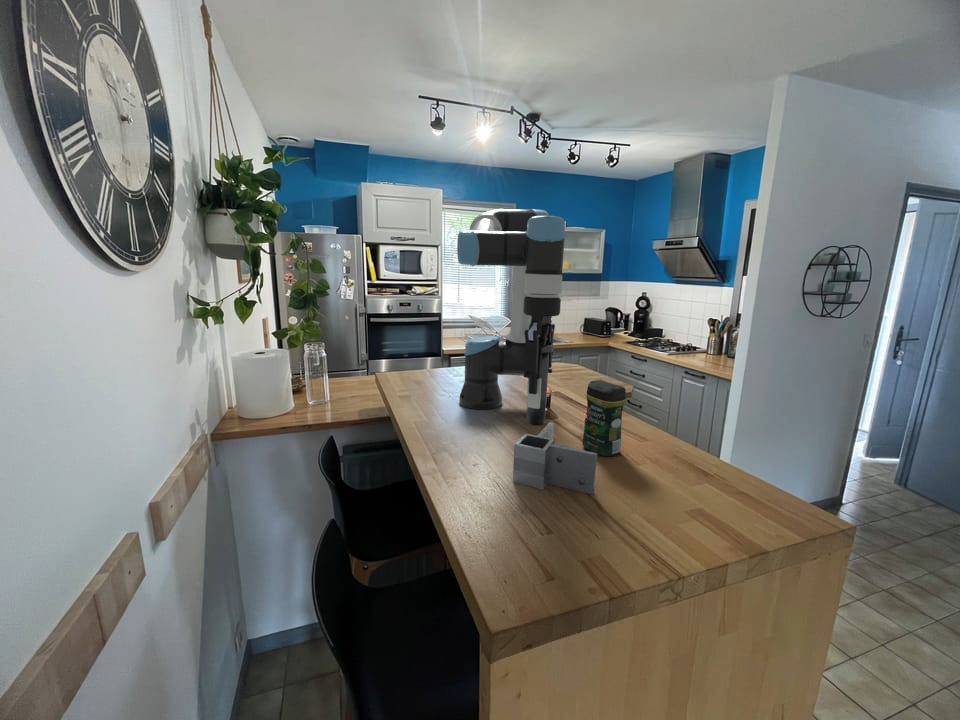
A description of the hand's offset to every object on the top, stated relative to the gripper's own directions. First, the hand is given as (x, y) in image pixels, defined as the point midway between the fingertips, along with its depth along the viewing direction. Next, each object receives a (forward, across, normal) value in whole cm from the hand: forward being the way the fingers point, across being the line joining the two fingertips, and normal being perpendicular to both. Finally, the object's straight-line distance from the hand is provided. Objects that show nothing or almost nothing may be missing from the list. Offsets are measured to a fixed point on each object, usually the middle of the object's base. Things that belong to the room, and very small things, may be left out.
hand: (536, 404), depth 90 cm
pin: (+4, 0, 0) cm, 4 cm away
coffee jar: (+18, -24, +11) cm, 32 cm away
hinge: (+18, -5, +5) cm, 19 cm away
